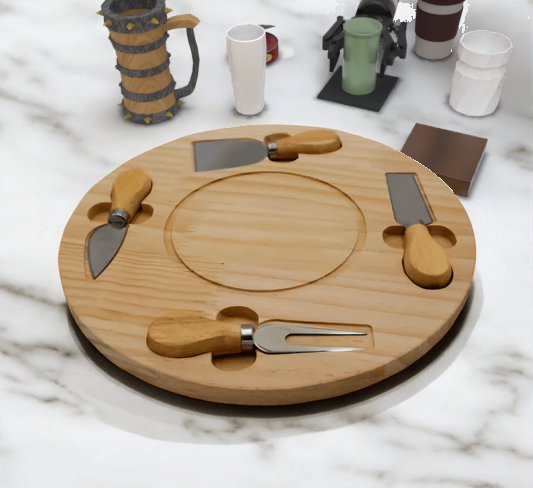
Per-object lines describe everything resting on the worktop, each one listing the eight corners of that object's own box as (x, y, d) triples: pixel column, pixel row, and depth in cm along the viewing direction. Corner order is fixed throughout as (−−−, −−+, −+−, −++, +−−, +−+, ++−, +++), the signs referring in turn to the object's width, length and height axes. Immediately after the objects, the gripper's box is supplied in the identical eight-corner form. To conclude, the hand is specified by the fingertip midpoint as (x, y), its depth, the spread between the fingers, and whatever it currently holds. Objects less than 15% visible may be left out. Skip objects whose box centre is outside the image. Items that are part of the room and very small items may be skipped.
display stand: (484, 153, 108) (488, 138, 106) (467, 197, 100) (470, 181, 98) (413, 137, 112) (415, 122, 110) (392, 177, 104) (394, 162, 102)
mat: (398, 79, 125) (399, 77, 125) (378, 112, 118) (378, 109, 117) (340, 67, 129) (340, 65, 129) (317, 98, 122) (317, 95, 121)
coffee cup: (447, 68, 128) (460, -7, 117) (399, 56, 131) (409, -17, 121) (464, 46, 133) (478, -27, 123) (418, 36, 137) (429, -36, 127)
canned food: (236, 84, 135) (209, 44, 129) (251, 56, 141) (227, 16, 135) (281, 69, 128) (255, 26, 123) (295, 40, 134) (271, -2, 128)
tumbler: (384, 87, 122) (390, 27, 114) (356, 99, 120) (360, 39, 111) (360, 73, 126) (365, 13, 118) (333, 84, 124) (335, 24, 115)
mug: (122, 91, 126) (100, -12, 112) (211, 87, 125) (200, -15, 111) (111, 129, 116) (86, 23, 102) (207, 126, 116) (195, 19, 102)
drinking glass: (244, 123, 116) (239, 45, 106) (224, 106, 121) (218, 30, 110) (275, 110, 119) (273, 34, 108) (255, 94, 123) (251, 19, 113)
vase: (487, 121, 114) (502, 59, 106) (440, 107, 118) (451, 46, 110) (504, 98, 119) (520, 37, 111) (459, 85, 123) (471, 25, 115)
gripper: (427, 34, 131) (414, 93, 116) (324, 24, 136) (298, 80, 120) (432, -2, 126) (419, 55, 110) (325, -12, 130) (298, 42, 115)
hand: (356, 68), depth 115 cm, fingers open, 8 cm apart
